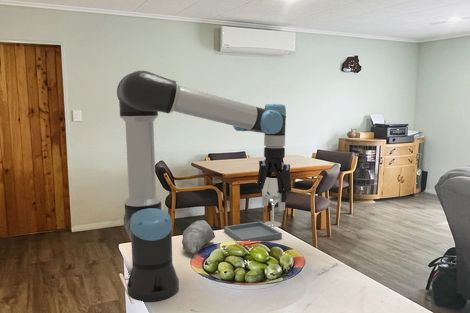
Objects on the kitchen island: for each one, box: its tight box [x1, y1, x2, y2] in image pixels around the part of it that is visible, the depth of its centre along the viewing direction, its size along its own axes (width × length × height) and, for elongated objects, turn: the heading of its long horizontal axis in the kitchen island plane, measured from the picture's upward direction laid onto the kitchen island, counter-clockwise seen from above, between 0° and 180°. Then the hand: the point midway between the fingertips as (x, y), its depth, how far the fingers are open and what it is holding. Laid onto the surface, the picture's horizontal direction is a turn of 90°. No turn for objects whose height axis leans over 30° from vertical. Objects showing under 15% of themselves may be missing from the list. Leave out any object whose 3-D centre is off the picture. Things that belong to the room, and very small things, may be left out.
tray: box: [223, 220, 283, 242], centre depth 165 cm, size 18×18×2 cm
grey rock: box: [181, 219, 216, 255], centre depth 150 cm, size 16×15×10 cm
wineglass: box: [263, 174, 284, 228], centre depth 145 cm, size 8×8×18 cm
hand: (273, 207), depth 146 cm, fingers closed on wineglass, 8 cm apart
